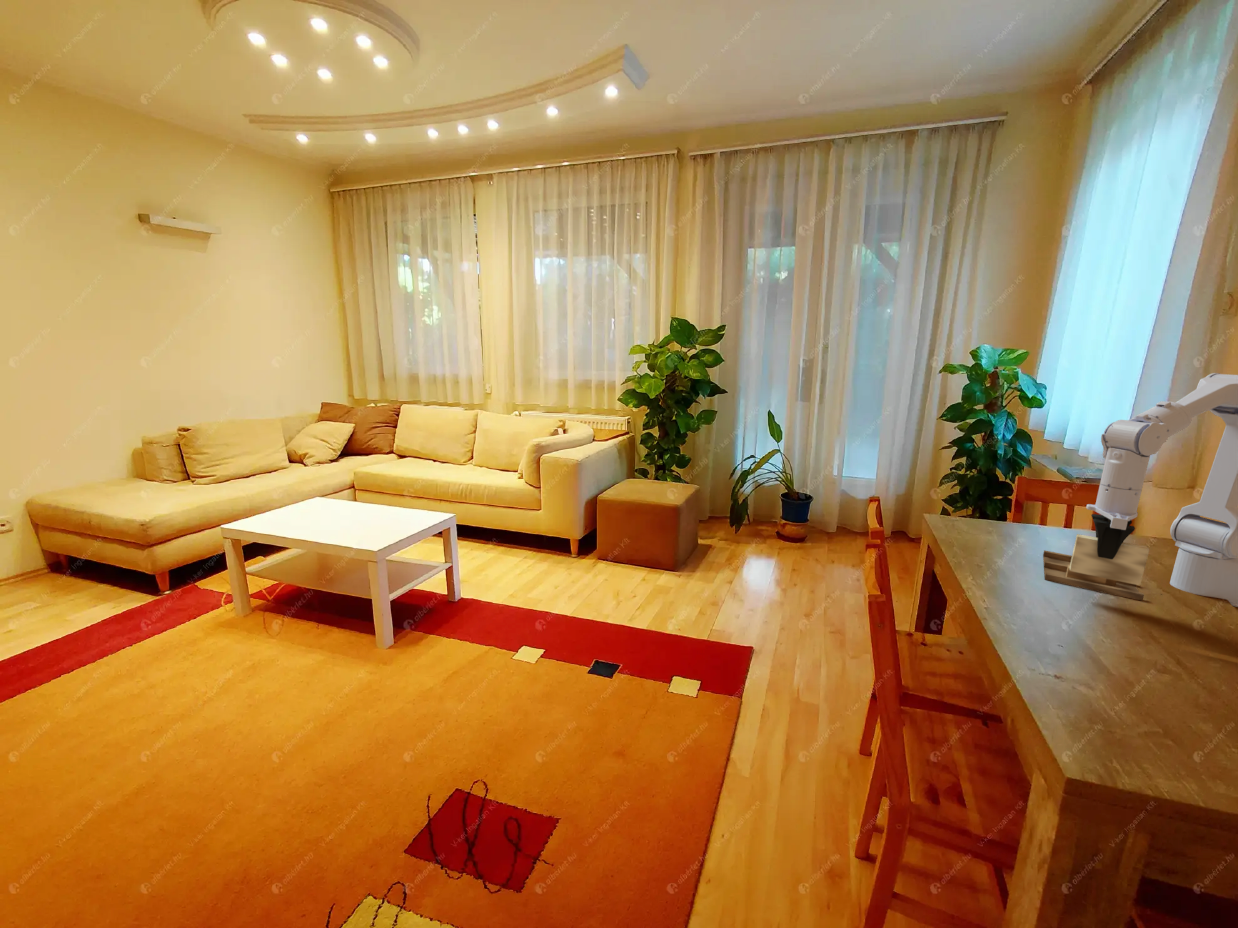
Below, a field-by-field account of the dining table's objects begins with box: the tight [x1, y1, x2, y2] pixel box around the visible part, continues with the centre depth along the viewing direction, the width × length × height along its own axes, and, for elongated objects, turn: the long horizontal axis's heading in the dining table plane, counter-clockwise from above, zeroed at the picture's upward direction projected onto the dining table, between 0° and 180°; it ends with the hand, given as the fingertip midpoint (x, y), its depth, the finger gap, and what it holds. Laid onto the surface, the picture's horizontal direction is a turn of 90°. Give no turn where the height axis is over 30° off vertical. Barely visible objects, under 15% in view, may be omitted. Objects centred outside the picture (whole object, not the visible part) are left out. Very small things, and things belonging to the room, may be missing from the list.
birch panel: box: [1069, 534, 1150, 586], centre depth 102 cm, size 10×2×7 cm, turn 53°
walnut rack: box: [1042, 550, 1145, 602], centre depth 115 cm, size 15×17×2 cm
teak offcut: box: [1066, 565, 1106, 585], centre depth 110 cm, size 6×2×3 cm, turn 53°
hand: (1104, 555), depth 102 cm, fingers closed on birch panel, 2 cm apart
